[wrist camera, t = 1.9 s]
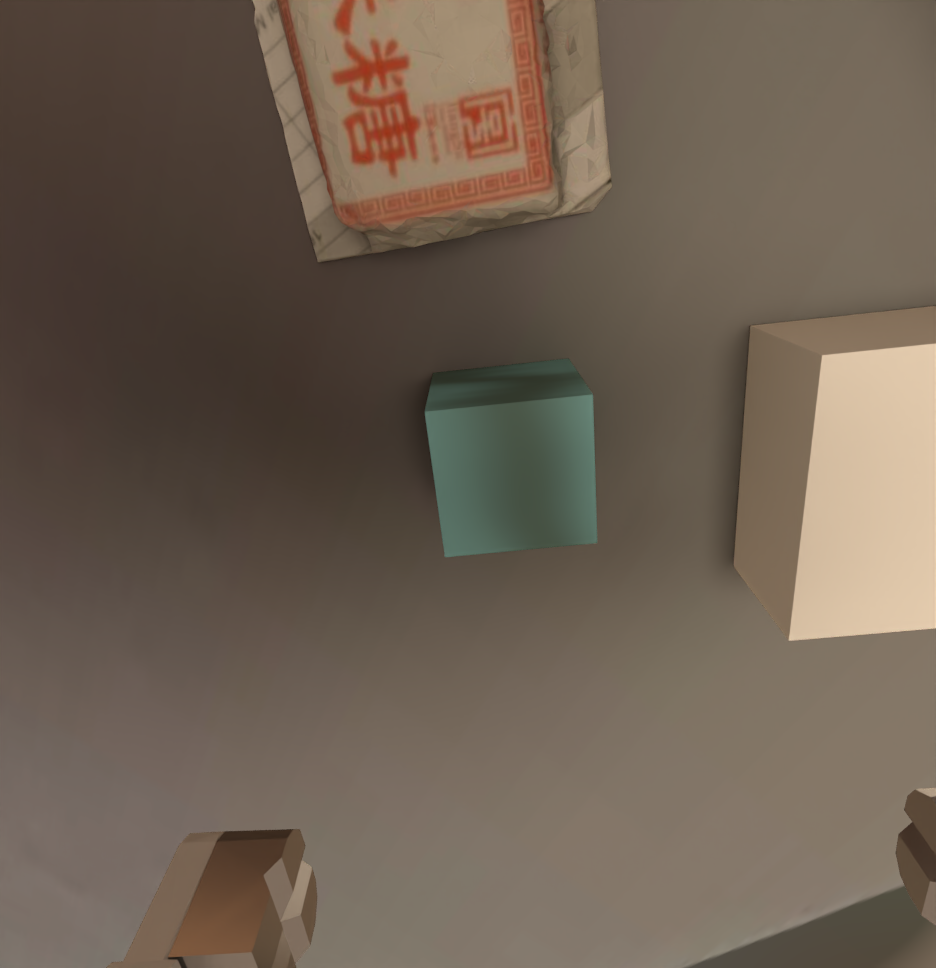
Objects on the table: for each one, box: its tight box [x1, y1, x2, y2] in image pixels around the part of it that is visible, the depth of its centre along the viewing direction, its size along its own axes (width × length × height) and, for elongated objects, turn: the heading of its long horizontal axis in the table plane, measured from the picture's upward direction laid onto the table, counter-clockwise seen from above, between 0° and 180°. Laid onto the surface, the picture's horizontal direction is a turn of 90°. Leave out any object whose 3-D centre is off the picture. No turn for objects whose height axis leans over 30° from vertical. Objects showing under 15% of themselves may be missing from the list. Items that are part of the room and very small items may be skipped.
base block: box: [733, 306, 936, 641], centre depth 22 cm, size 10×10×5 cm
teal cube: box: [425, 359, 597, 557], centre depth 22 cm, size 5×5×5 cm
